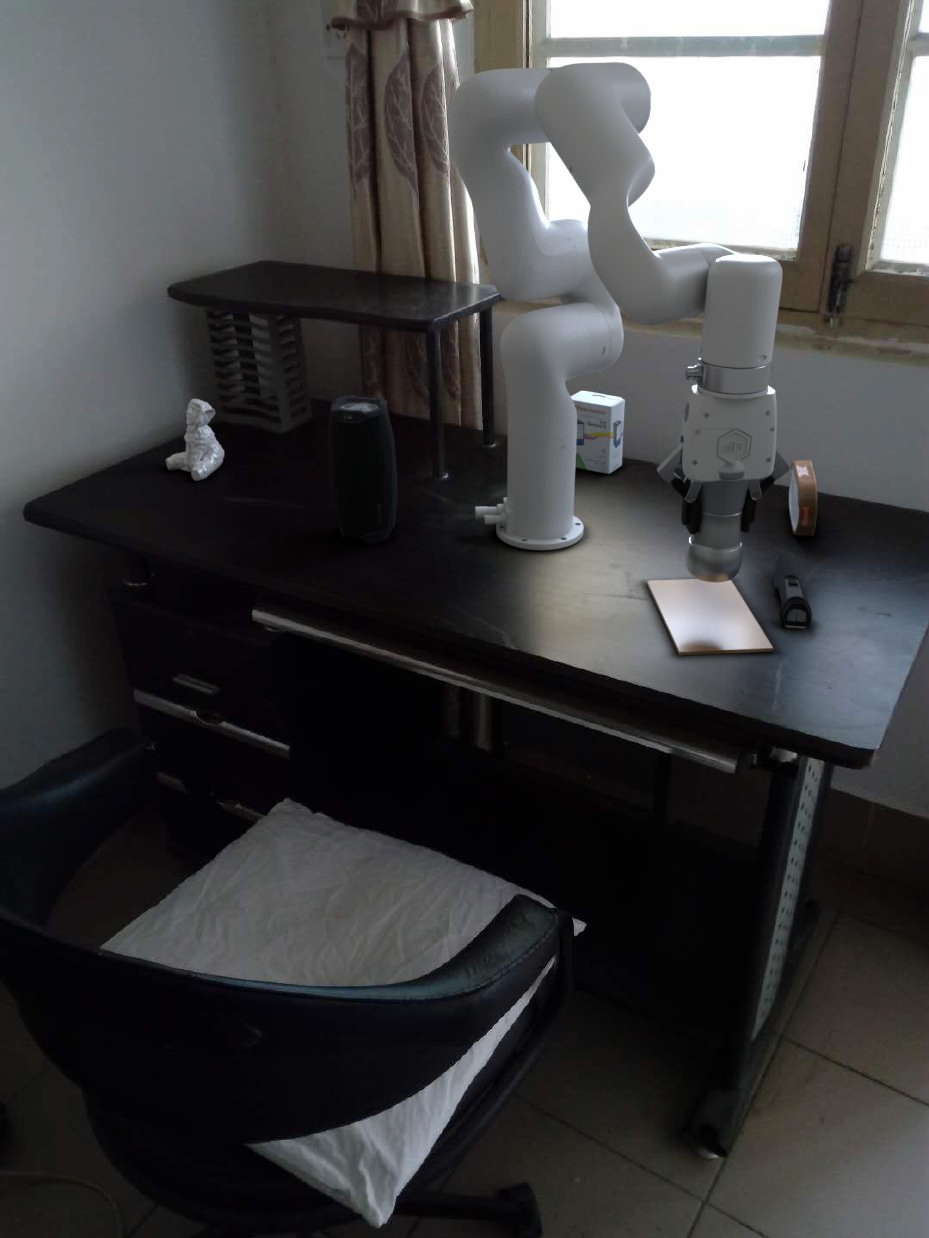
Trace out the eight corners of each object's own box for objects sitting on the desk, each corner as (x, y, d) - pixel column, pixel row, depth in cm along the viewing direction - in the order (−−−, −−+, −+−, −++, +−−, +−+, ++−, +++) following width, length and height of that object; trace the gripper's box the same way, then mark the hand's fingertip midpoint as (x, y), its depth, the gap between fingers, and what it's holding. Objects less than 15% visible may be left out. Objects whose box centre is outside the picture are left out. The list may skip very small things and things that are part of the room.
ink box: (622, 466, 169) (627, 397, 163) (608, 475, 165) (612, 405, 160) (577, 456, 173) (580, 389, 168) (562, 465, 170) (565, 397, 164)
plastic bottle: (736, 592, 118) (760, 427, 108) (678, 584, 120) (696, 421, 110) (742, 569, 123) (764, 410, 114) (686, 561, 125) (703, 404, 115)
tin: (814, 546, 141) (823, 489, 137) (790, 544, 142) (799, 488, 138) (804, 504, 154) (813, 451, 150) (783, 503, 154) (791, 450, 150)
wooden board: (678, 655, 116) (679, 651, 116) (646, 583, 132) (646, 580, 132) (773, 651, 117) (773, 648, 117) (729, 580, 132) (729, 577, 132)
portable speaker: (333, 524, 150) (322, 395, 141) (395, 519, 151) (389, 391, 142) (337, 548, 143) (325, 414, 133) (402, 542, 144) (396, 409, 135)
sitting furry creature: (163, 469, 171) (151, 400, 165) (205, 455, 177) (195, 388, 171) (197, 482, 166) (186, 411, 160) (239, 467, 171) (230, 398, 165)
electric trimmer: (797, 573, 134) (801, 551, 133) (812, 629, 121) (815, 605, 120) (768, 571, 135) (771, 549, 134) (779, 627, 122) (782, 603, 120)
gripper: (663, 389, 106) (650, 545, 115) (823, 383, 107) (799, 539, 116) (648, 369, 113) (637, 518, 122) (799, 364, 113) (778, 513, 122)
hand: (716, 527), depth 118 cm, fingers closed on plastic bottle, 5 cm apart
